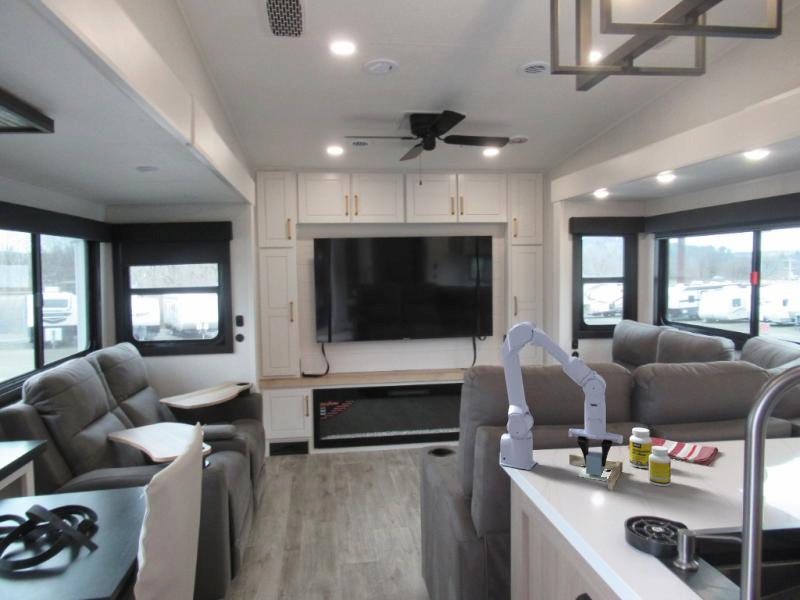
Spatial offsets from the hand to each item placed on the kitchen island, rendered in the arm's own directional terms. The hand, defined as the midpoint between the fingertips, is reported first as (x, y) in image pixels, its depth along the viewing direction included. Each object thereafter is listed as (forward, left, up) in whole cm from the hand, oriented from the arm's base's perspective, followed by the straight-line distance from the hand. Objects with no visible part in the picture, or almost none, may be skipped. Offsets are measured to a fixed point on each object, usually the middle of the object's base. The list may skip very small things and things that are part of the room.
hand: (595, 464), depth 147 cm
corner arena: (-1, -2, -3) cm, 4 cm away
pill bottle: (+11, +14, -3) cm, 18 cm away
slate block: (0, 0, -2) cm, 2 cm away
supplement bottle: (+17, +2, -3) cm, 17 cm away
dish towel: (+18, +33, -4) cm, 38 cm away
